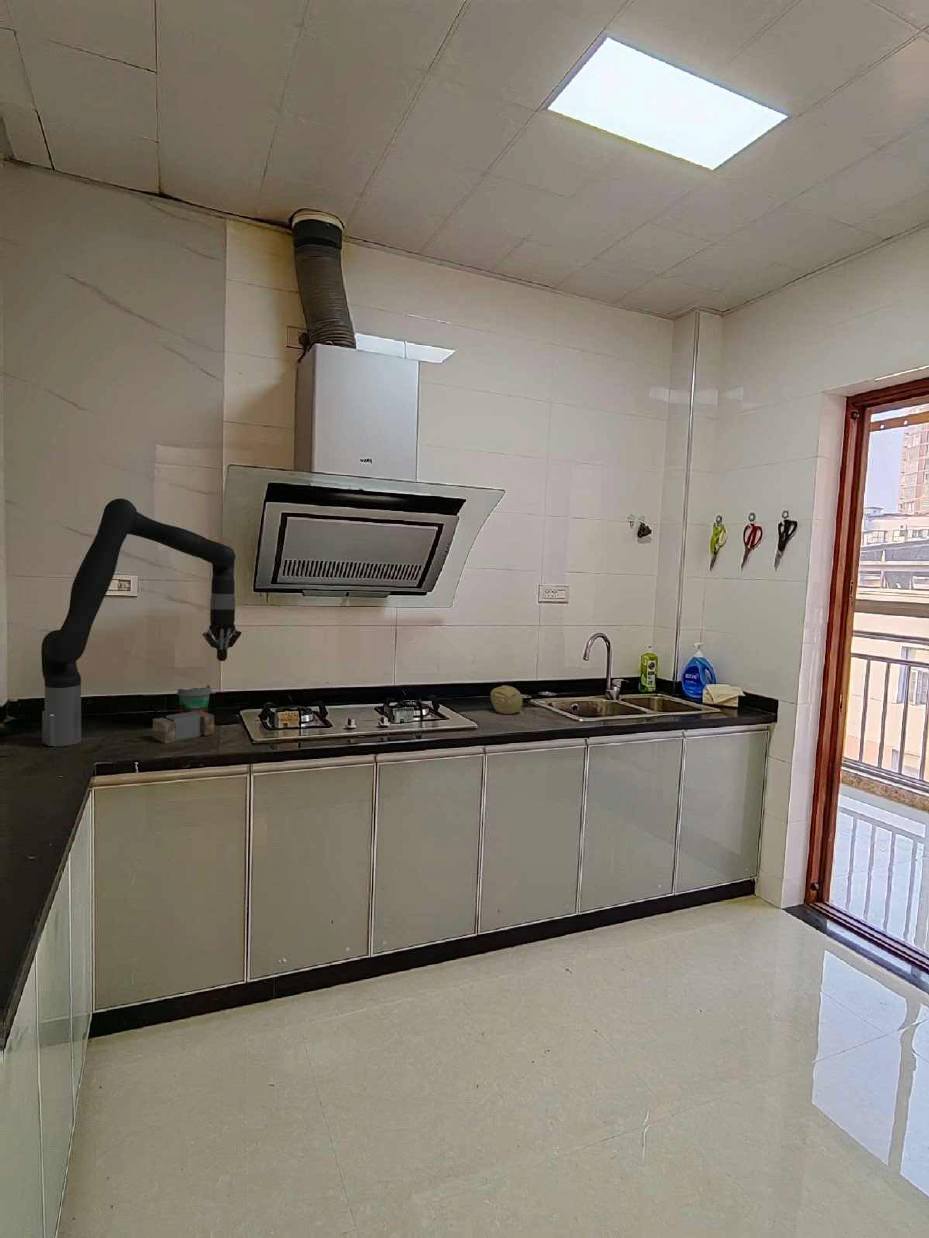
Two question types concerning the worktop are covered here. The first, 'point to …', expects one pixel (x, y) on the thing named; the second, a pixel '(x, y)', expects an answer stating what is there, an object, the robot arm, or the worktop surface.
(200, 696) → the food container
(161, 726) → the beige brown block
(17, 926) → the worktop surface
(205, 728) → the block
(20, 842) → the worktop surface
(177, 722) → the block
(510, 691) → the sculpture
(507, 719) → the worktop surface
